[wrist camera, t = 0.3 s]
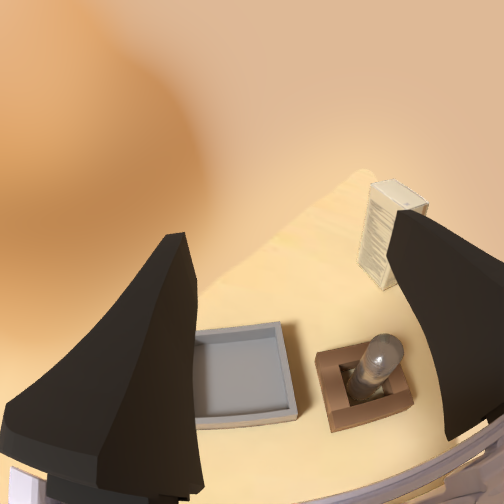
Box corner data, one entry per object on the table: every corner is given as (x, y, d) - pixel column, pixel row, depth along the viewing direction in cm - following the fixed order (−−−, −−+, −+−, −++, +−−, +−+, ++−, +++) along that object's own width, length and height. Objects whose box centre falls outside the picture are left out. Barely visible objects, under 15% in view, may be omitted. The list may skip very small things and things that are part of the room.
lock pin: (378, 396, 23) (408, 361, 18) (350, 403, 23) (375, 371, 18) (370, 371, 25) (396, 330, 20) (343, 377, 25) (363, 338, 20)
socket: (406, 410, 21) (414, 403, 20) (331, 432, 21) (335, 428, 20) (383, 346, 27) (389, 336, 26) (314, 361, 27) (316, 352, 26)
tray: (295, 420, 23) (297, 414, 21) (189, 430, 22) (181, 424, 21) (279, 334, 30) (280, 321, 28) (189, 343, 30) (183, 331, 28)
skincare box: (404, 280, 34) (433, 203, 26) (381, 292, 33) (409, 212, 25) (376, 251, 38) (394, 176, 30) (353, 260, 37) (369, 182, 29)
